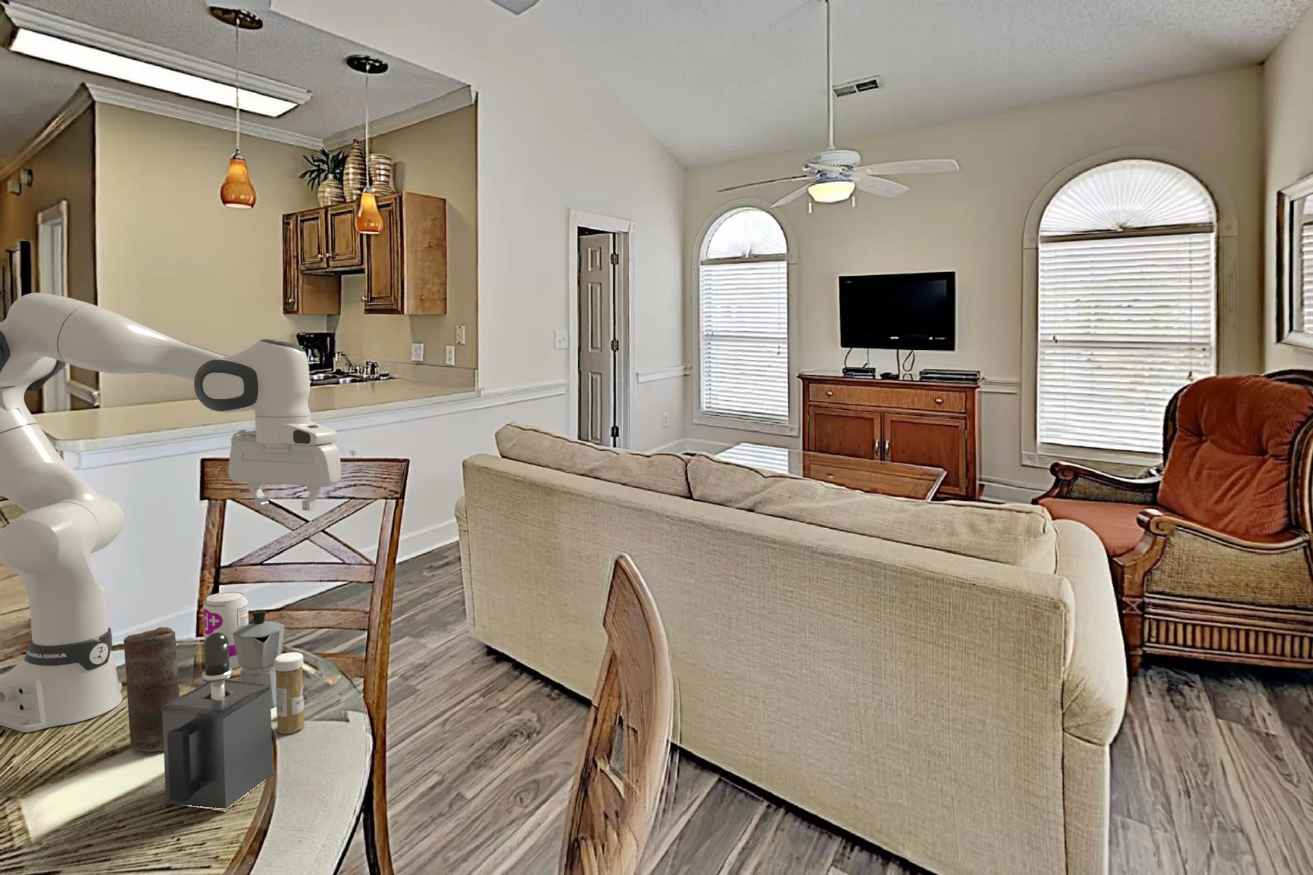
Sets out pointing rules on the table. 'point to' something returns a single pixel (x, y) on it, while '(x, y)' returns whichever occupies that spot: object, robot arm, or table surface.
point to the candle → (150, 684)
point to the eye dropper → (217, 664)
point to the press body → (217, 744)
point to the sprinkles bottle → (289, 692)
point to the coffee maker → (259, 651)
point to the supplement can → (226, 618)
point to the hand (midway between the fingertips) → (285, 508)
